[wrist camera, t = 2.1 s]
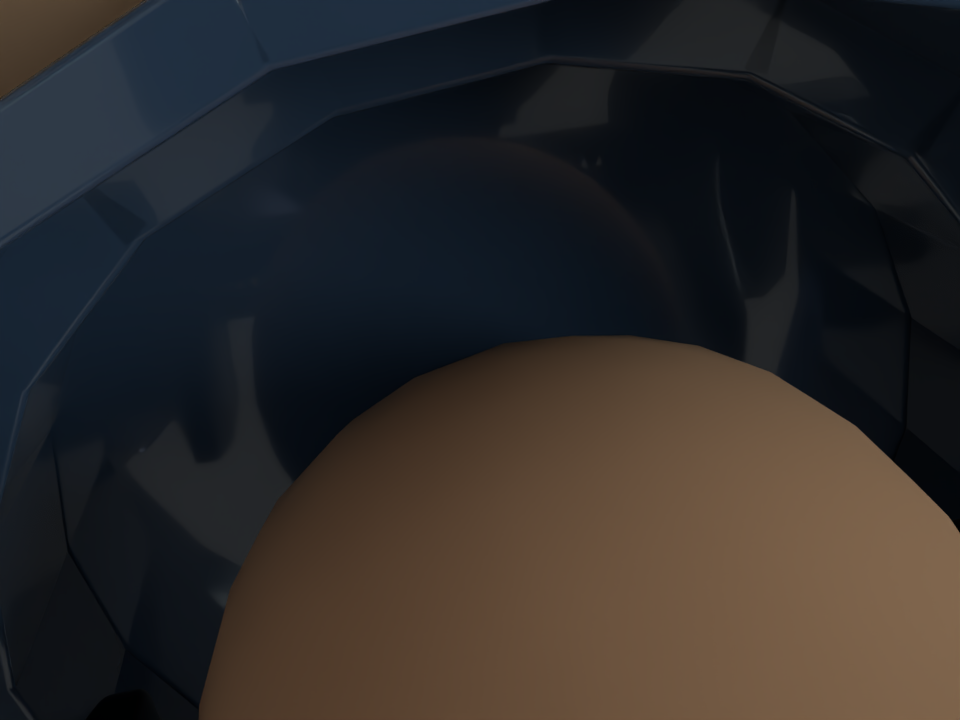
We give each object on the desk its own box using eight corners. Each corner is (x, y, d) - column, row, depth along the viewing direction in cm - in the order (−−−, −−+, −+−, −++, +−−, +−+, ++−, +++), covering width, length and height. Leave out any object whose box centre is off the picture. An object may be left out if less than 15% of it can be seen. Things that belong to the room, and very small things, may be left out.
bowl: (-140, 740, 12) (-389, 1197, 8) (99, -425, 7) (-233, -957, 3) (678, 841, 17) (806, 1164, 13) (1177, 182, 12) (1687, 340, 7)
